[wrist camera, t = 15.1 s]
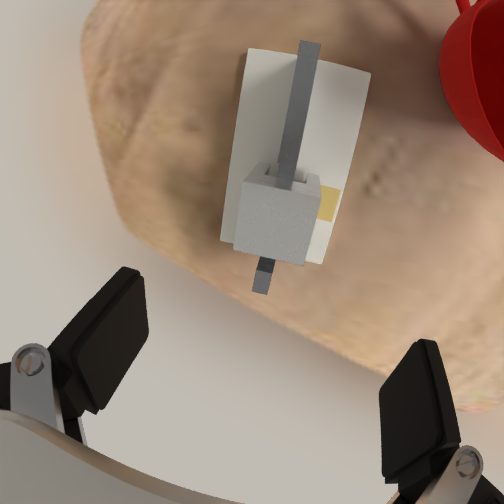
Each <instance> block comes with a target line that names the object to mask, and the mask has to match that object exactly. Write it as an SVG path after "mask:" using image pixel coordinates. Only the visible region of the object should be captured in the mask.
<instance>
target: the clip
mask: <svg viewBox="0 0 504 504" xmlns="http://www.w3.org/2000/svg"><path fill="white" fill-rule="evenodd" d="M269 171H270V164H265V163H260V162H258V163H257V165H256V166H255V167H254V168H253V169H252V171H251V172H250V173H249V174H248V176H247V177H246V178H245V179H244V181H243V184H242V191H241V197H240V204H239V211H238V218H237V225H236V232H235V239H234V246H233V250H236V251H240V252H245V253H249V254H253V255H258V256H262V257H267V258H271V259H275V260H280V261H284V262H288V263H293V264H297V265H302V266H304V262H305V259H306V255H307V252H308V248H309V244H310V241H311V237H312V233H313V230H314V226H315V222H316V218H317V215H318V211H319V207H320V203H321V199H322V197H321V187H320V178H319V175H316V174H312V173H307V175H306V180H305V183H300V182H296V181H291V180H287V179H282V178H278V177H273V176H269Z"/></svg>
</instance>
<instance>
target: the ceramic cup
mask: <svg viewBox="0 0 504 504" xmlns="http://www.w3.org/2000/svg"><path fill="white" fill-rule="evenodd" d="M456 3H457V6H458V9H459V12H460V16H459V17H458V18H457V19H456V20H455V21H454V23H453V24H452V25H451V26H450V27H449V29H448V31H447V33H446V35H445V37H444V39H443V42H442V46H441V51H440V58H439V71H440V78H441V84H442V87H443V91H444V94H445V97H446V99H447V101H448V103H449V106H450V108H451V109H452V111H453V113H454V114H455V116H456V118H457V120H458V121H459V122H460V123H461V125H462V126H463V127H464V129H465V130H466V131H467V132H468V134H469V135H470V136H471V137H473V138H474V139H475V140H476V141H477V142H478V143H479V144H480V145H481V146H482V147H483V148H484V149H486V150H487V151H488V152H490V153H491V154H493V155H494V156H496V157H497V158H499V159H500V160H502V161H503V162H504V0H477V2H476V3H475V4H474V5H473V6H470V3H469V0H456Z"/></svg>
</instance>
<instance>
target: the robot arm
mask: <svg viewBox="0 0 504 504" xmlns="http://www.w3.org/2000/svg"><path fill="white" fill-rule="evenodd" d="M148 334H149V328H148V319H147V310H146V298H145V286H144V278H143V277H142V276H140V272H139V271H138V270H135V269H131V268H128V267H122V268H120V269H119V270H118V272H116V273H115V275H114V276H113V277H112V278H111V279H110V280H109V281H108V282H107V283H106V284H105V285H104V286H103V287H102V288H101V289H100V290H99V291H98V292H97V293H96V295H95V296H94V297H93V298H91V299H90V300H89V301H88V302H87V303H86V305H85V306H84V307H83V308H82V309H81V310H80V311H79V312H78V314H77V315H76V316H75V317H74V318H73V319H72V320H71V322H70V323H69V324H68V325H67V326H66V327H65V328H64V329H63V330H62V332H61V333H60V334H59V335H58V336H57V337H56V339H55V340H54V341H53V342H52V343H51V345H50V346H49V347H48V348H47V349H46V348H45V347H43V346H42V345H40V344H37V343H34V344H33V343H31V344H27V345H24V346H22V347H21V348H19V349H18V350H17V351H16V352H15V354H14V356H13V357H12V362H8V363H3V364H0V504H243V503H238V502H233V501H229V500H225V499H221V498H217V497H213V496H210V495H206V494H202V493H199V492H196V491H192V490H189V489H186V488H183V487H180V486H177V485H174V484H171V483H168V482H165V481H163V480H160V479H157V478H155V477H152V476H149V475H147V474H145V473H142V472H140V471H138V470H135V469H133V468H131V467H128V466H126V465H124V464H122V463H120V462H117V461H115V460H113V459H111V458H109V457H107V456H105V455H103V454H101V453H99V452H97V451H95V450H93V449H91V448H89V447H88V446H87V442H86V438H85V433H84V429H83V424H82V420H81V416H82V414H83V413H84V411H85V410H87V411H89V412H91V413H93V414H95V415H96V414H97V412H98V411H99V409H100V410H103V409H104V408H105V407H106V405H107V404H108V402H109V400H110V399H111V397H112V395H113V394H114V392H115V390H116V389H117V387H118V385H119V384H120V382H121V380H122V379H123V377H124V375H125V374H126V372H127V371H128V369H129V367H130V366H131V364H132V362H133V361H134V359H135V358H136V356H137V354H138V353H139V351H140V350H141V348H142V346H143V345H144V343H145V342H146V340H147V338H148ZM379 406H380V421H381V447H382V475H383V477H385V484H396V483H398V491H397V492H396V493H395V494H394V496H393V497H392V498H391V499H390V500H389V502H388V503H387V504H504V495H503V494H502V493H501V492H500V491H499V490H498V489H497V488H496V487H495V486H493V485H492V484H491V483H490V482H489V481H488V480H487V479H486V478H485V477H484V476H483V475H482V471H483V460H482V456H481V455H480V453H479V451H478V450H477V449H476V448H474V447H472V446H467V445H466V446H462V447H459V443H460V442H461V438H460V432H459V427H458V422H457V417H456V413H455V408H454V403H453V399H452V395H451V391H450V387H449V383H448V379H447V376H446V372H445V369H444V365H443V362H442V358H441V355H440V352H439V349H438V345H437V343H436V342H435V341H433V340H427V339H419V340H418V341H417V342H414V343H413V344H412V346H411V347H410V349H409V350H408V351H407V353H406V354H405V356H404V357H403V359H402V360H401V361H400V363H399V364H398V365H397V367H396V368H395V370H394V371H393V372H392V374H391V375H390V376H389V377H388V379H387V380H386V381H385V383H384V384H383V385H382V387H381V388H380V391H379Z"/></svg>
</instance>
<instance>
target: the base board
mask: <svg viewBox="0 0 504 504" xmlns="http://www.w3.org/2000/svg"><path fill="white" fill-rule="evenodd" d="M297 56H298V55H294V54H289V53H283V52H276V51H269V50H262V49H254V48H248V54H247V60H246V65H245V71H244V77H243V83H242V89H241V95H240V101H239V107H238V113H237V120H236V126H235V133H234V139H233V146H232V153H231V160H230V167H229V174H228V181H227V189H226V196H225V204H224V211H223V219H222V227H221V235H220V241H223V242H227V243H232V244H234V239H235V232H236V225H237V218H238V211H239V204H240V197H241V191H242V184H243V181H244V179H245V178H246V177H247V176H248V174H249V173H250V172H251V171H252V169H253V168H254V167H255V166H256V165H257V163H258V162H260V163H265V164H270V171H269V176H273V177H277V171H278V166H279V163H277V162H278V156H279V151H280V146H281V141H282V136H283V130H284V125H285V120H286V115H287V110H288V104H289V99H290V94H291V88H292V83H293V78H294V72H295V67H296V62H297ZM370 78H371V73H369V72H365V71H362V70H358V69H355V68H351V67H348V66H344V65H340V64H336V63H332V62H328V61H324V60H319V59H318V62H317V67H316V72H315V78H314V83H313V88H312V93H311V98H310V103H309V108H308V113H307V118H306V123H305V128H304V133H303V138H302V142H301V147H300V152H299V157H298V161H297V166H296V171H295V175H294V180H293V181H296V182H300V183H305V180H306V175H307V173H312V174H316V175H319V178H320V187H321V197H322V199H321V203H320V207H319V211H318V215H317V218H316V222H315V226H314V230H313V233H312V237H311V241H310V244H309V248H308V252H307V255H306V259H305V261H309V262H313V263H317V264H322V261H323V258H324V255H325V252H326V249H327V246H328V243H329V239H330V236H331V233H332V229H333V226H334V223H335V219H336V216H337V213H338V209H339V206H340V202H341V199H342V195H343V192H344V188H345V184H346V181H347V177H348V173H349V169H350V165H351V162H352V158H353V154H354V150H355V146H356V142H357V137H358V133H359V129H360V125H361V120H362V116H363V111H364V107H365V102H366V98H367V93H368V88H369V83H370Z"/></svg>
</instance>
